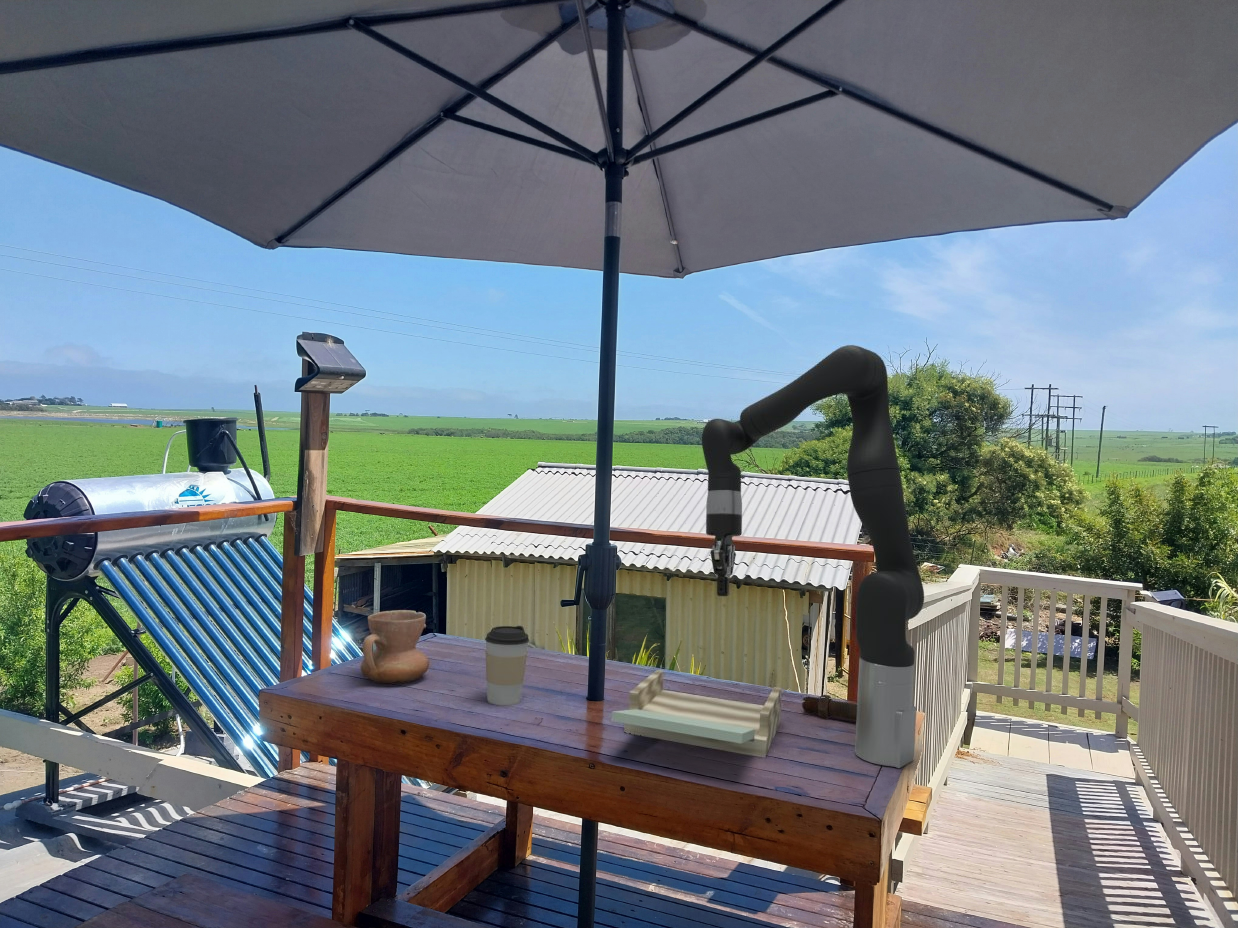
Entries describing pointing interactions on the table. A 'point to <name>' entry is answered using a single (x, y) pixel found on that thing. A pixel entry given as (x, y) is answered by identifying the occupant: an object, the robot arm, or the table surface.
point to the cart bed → (706, 716)
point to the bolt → (829, 707)
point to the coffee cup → (505, 664)
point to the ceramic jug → (394, 647)
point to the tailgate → (685, 725)
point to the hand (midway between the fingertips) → (723, 595)
